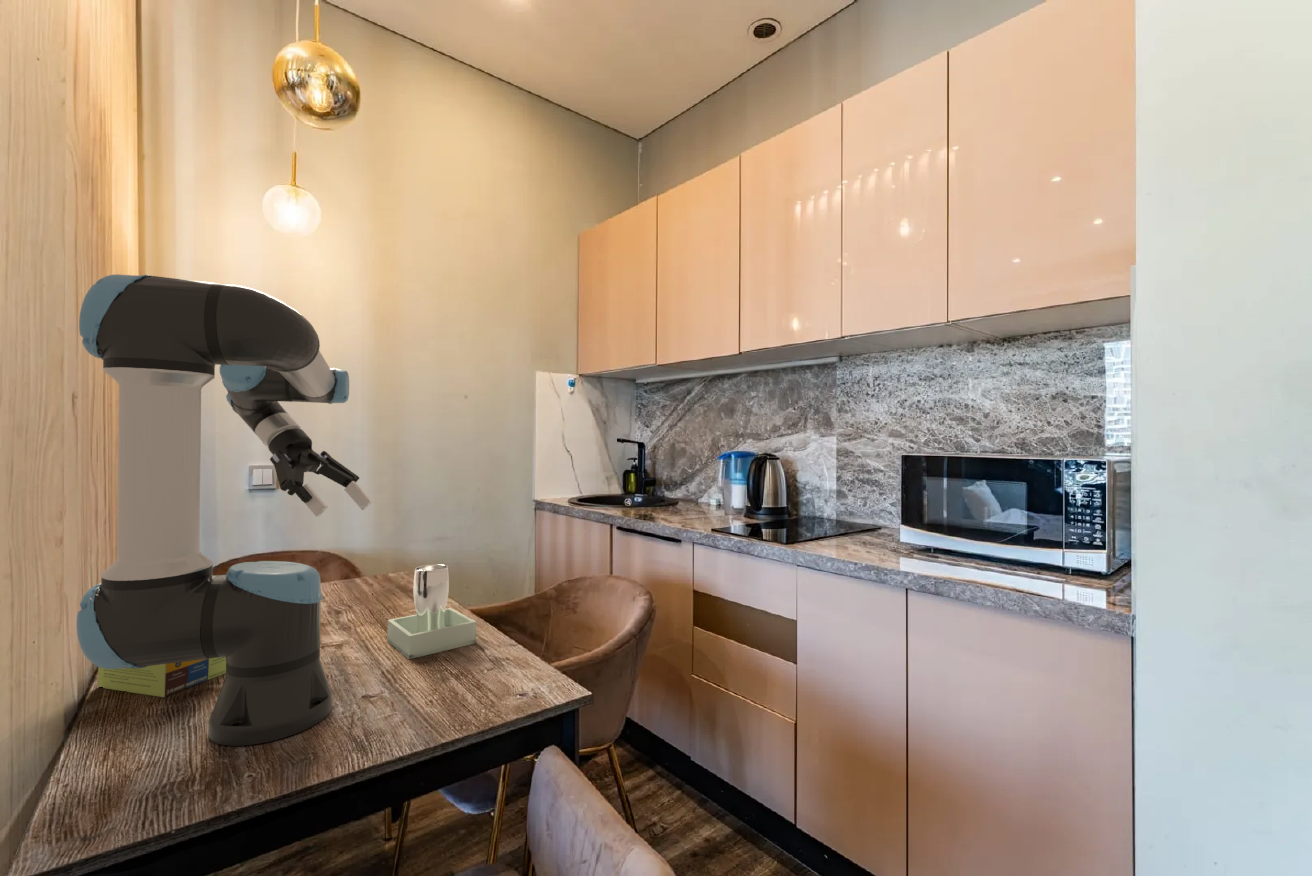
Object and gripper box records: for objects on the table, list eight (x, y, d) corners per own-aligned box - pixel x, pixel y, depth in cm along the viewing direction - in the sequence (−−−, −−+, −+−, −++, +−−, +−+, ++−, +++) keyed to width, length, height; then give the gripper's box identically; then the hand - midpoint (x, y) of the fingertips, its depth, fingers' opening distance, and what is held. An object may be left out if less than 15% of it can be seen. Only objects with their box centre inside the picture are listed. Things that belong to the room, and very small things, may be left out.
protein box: (164, 698, 89) (167, 603, 90) (95, 688, 93) (98, 596, 93) (228, 673, 99) (230, 587, 100) (164, 665, 103) (166, 582, 103)
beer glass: (448, 641, 114) (449, 569, 114) (411, 646, 111) (413, 572, 111) (447, 631, 120) (448, 563, 120) (413, 635, 117) (414, 565, 118)
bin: (476, 643, 115) (476, 621, 115) (408, 659, 106) (409, 636, 106) (450, 627, 125) (450, 607, 125) (387, 641, 116) (387, 620, 116)
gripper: (317, 451, 132) (372, 514, 129) (220, 450, 107) (287, 528, 104) (337, 429, 131) (393, 492, 128) (245, 423, 107) (312, 500, 104)
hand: (346, 508), depth 116 cm, fingers open, 13 cm apart
